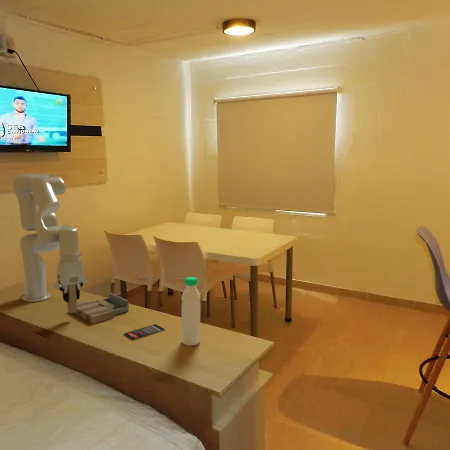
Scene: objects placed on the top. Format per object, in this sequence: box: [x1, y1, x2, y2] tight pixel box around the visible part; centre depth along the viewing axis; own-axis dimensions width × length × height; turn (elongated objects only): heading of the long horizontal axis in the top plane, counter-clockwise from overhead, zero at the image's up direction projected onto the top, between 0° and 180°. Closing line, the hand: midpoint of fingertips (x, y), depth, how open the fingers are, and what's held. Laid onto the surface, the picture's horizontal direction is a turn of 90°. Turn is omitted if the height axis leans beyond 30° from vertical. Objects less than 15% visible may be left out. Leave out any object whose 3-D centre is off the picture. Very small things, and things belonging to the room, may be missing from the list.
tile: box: [98, 298, 114, 309], centre depth 186 cm, size 5×5×2 cm
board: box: [73, 299, 115, 325], centre depth 181 cm, size 20×10×3 cm, turn 46°
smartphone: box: [123, 323, 165, 342], centre depth 163 cm, size 7×1×15 cm
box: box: [94, 292, 129, 317], centre depth 187 cm, size 16×8×5 cm, turn 46°
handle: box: [66, 277, 79, 314], centre depth 173 cm, size 5×6×15 cm
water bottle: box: [181, 276, 201, 347], centre depth 153 cm, size 7×7×25 cm
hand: (71, 299), depth 173 cm, fingers closed on handle, 4 cm apart
